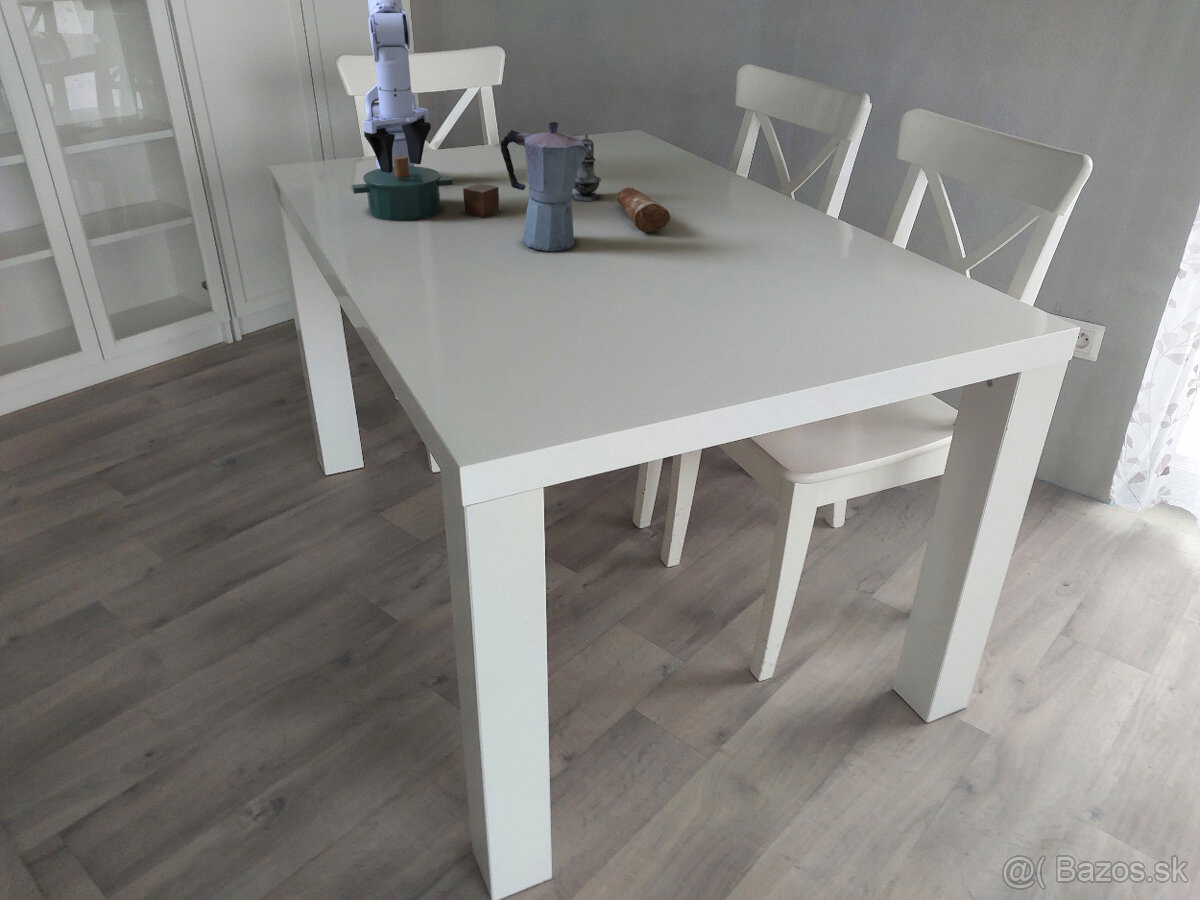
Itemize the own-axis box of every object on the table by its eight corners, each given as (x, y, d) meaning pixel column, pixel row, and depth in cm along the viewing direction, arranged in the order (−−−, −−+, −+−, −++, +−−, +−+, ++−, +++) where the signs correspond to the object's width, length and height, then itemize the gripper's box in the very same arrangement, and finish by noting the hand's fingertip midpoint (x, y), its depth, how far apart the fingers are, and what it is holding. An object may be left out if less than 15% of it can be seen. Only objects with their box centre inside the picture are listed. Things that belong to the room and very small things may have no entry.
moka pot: (584, 256, 153) (585, 130, 143) (494, 249, 156) (489, 124, 146) (596, 238, 161) (598, 118, 151) (510, 231, 164) (506, 112, 154)
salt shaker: (600, 201, 181) (601, 138, 175) (569, 201, 181) (570, 137, 175) (600, 193, 186) (602, 131, 180) (571, 192, 186) (571, 130, 180)
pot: (349, 205, 176) (345, 173, 172) (444, 196, 182) (442, 166, 179) (362, 225, 165) (358, 191, 162) (462, 215, 172) (460, 182, 169)
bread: (635, 237, 162) (636, 205, 160) (612, 206, 178) (613, 176, 176) (670, 235, 164) (672, 203, 161) (644, 204, 180) (645, 175, 177)
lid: (357, 175, 174) (354, 151, 172) (430, 169, 179) (428, 145, 176) (372, 194, 163) (369, 169, 161) (449, 187, 168) (447, 163, 166)
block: (464, 213, 173) (462, 188, 170) (479, 207, 176) (478, 182, 174) (484, 217, 171) (482, 192, 168) (499, 211, 174) (498, 186, 172)
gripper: (382, 97, 156) (390, 179, 162) (439, 85, 166) (444, 162, 173) (351, 92, 159) (360, 173, 166) (409, 81, 169) (415, 157, 176)
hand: (401, 167), depth 170 cm, fingers open, 7 cm apart
